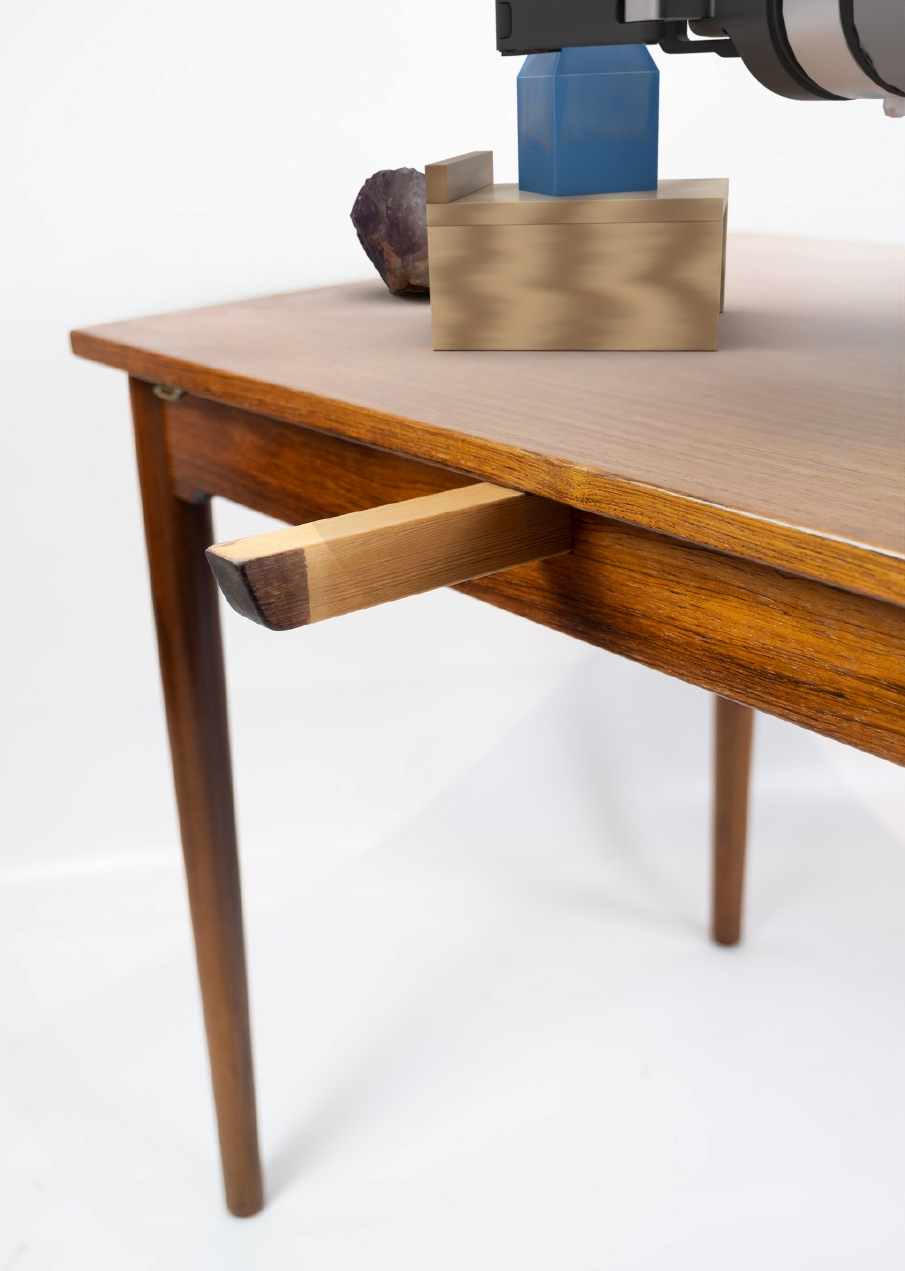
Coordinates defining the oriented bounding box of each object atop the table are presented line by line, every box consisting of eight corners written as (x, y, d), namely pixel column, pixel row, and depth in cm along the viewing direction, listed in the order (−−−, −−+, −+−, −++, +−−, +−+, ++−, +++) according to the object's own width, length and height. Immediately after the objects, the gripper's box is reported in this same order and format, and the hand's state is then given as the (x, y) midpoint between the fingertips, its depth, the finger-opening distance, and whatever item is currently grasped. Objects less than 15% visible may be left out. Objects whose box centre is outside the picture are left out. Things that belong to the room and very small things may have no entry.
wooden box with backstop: (723, 309, 85) (730, 143, 82) (717, 350, 73) (724, 156, 69) (479, 310, 89) (474, 151, 85) (432, 350, 76) (424, 165, 72)
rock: (491, 298, 102) (361, 297, 103) (493, 180, 100) (360, 181, 101) (480, 296, 91) (334, 295, 91) (481, 163, 89) (332, 164, 89)
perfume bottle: (657, 189, 76) (661, -47, 71) (555, 196, 74) (553, -45, 70) (614, 183, 81) (616, -36, 77) (518, 189, 80) (514, -34, 75)
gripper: (557, 114, 49) (404, 111, 68) (1114, 88, 56) (833, 91, 75) (556, -117, 46) (396, -54, 65) (1143, -116, 53) (843, -59, 72)
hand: (629, 24), depth 70 cm, fingers open, 13 cm apart
